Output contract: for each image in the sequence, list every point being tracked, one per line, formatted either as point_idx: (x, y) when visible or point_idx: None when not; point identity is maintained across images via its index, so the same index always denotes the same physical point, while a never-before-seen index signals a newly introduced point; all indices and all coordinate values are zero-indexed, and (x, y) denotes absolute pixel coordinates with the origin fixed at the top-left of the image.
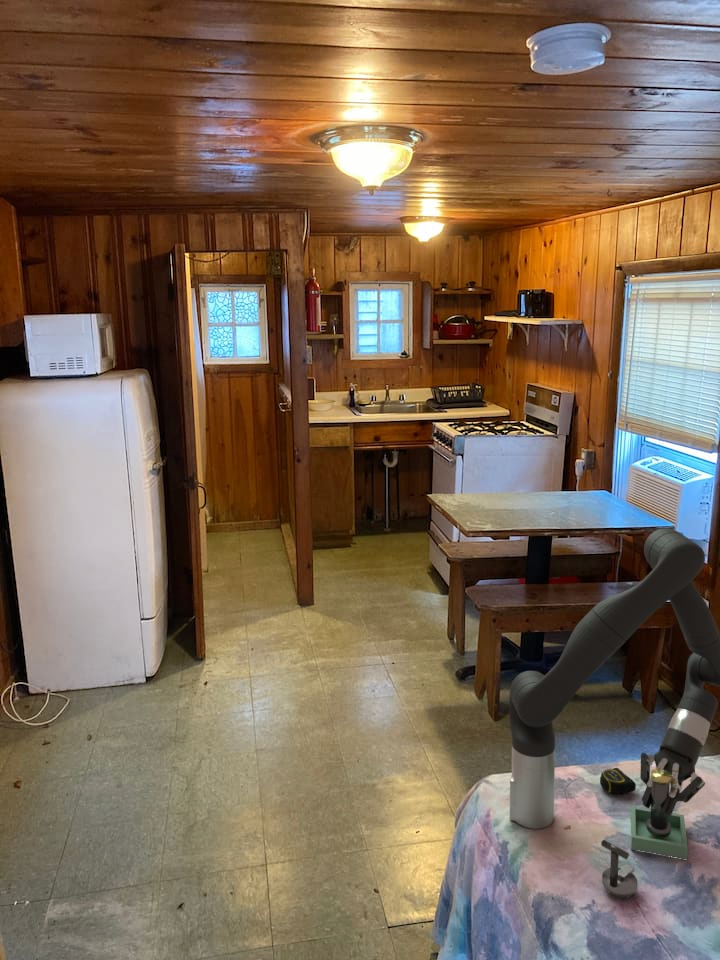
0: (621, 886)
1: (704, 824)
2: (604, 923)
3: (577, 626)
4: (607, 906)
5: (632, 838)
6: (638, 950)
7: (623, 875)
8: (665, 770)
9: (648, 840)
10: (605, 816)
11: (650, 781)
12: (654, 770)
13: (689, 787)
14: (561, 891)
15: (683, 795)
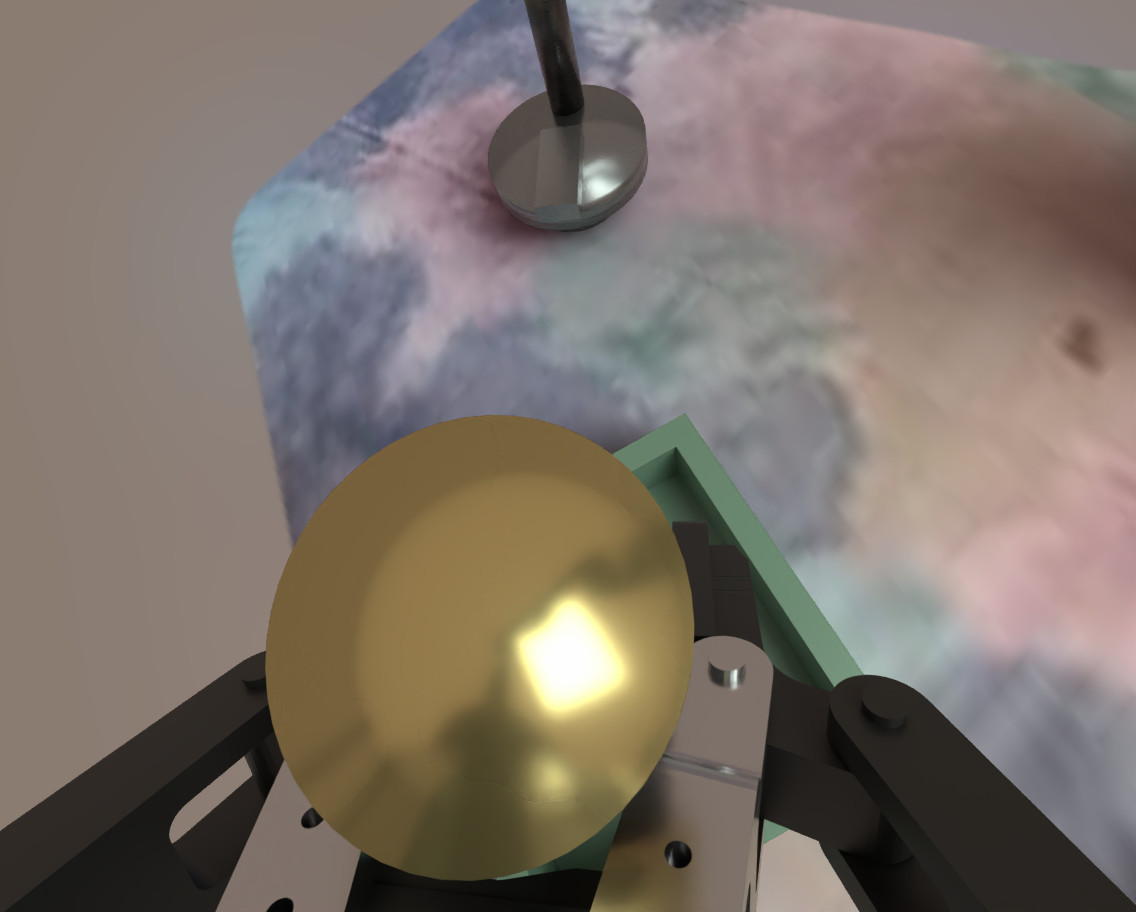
0: (537, 120)
1: None
2: (537, 57)
3: None
4: None
5: (681, 420)
6: (406, 65)
7: (547, 136)
8: (445, 856)
9: None
10: (1022, 629)
11: (737, 695)
12: (647, 655)
13: (91, 803)
14: (743, 39)
15: (239, 683)
